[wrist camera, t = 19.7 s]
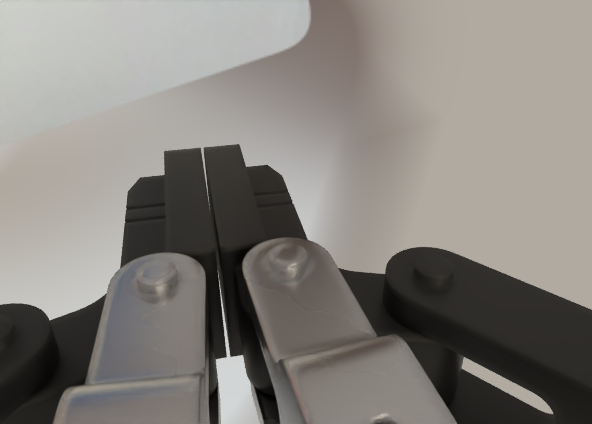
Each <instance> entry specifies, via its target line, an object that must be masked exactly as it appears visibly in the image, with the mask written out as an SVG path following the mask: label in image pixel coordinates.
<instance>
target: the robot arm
mask: <svg viewBox="0 0 592 424" xmlns="http://www.w3.org/2000/svg"><path fill="white" fill-rule="evenodd" d="M204 156H205V157H204V158H205V167H206V175H207V186H208V195H207V188H206V181H205V175H204V168H203V161H202V154H201V148H194V149H182V150H172V151H165V152H164V157H165V158H164V161H165V162H164V165H165V175H162V176H152V177H143V178H140V179H139V180H138V181H137V182H136V183H135V184H134V185H133V186H132V188H131V189H130V190H129V191H128V196H127V206H126V208H127V210H126V216H125V226H124V236H123V237H124V238H123V247H122V257H121V267H120V269H119V270H118V271H117V272H116V273H115V274H114V276H113V277H112V279H111V281H110V284H109V286H108V291H107V293H106V294H105V295H104V296H103V297H102V298H100V299H99V300H97V301H96V302H95V303H92V304H91V305H89V306H87V307H85V308H82V309H80V310H77V311H75V312H72V313H69V314H67V315H64V316H61V317H58V318H55V319H53V320H50V321H49V318H48V317H47V315H46V314H45V313H44V312H43V311H42V310H41V309H39V308H37V307H34V306H31V305H27V304H3V305H0V424H221V415H220V395H219V386H218V378H217V369H216V359H219V358H225V357H227V356H226V347H225V336H224V327H223V317H222V307H221V298H220V288H221V295H222V301H223V308H224V314H225V322H226V329H227V336H228V342H229V349H230V355H231V357H232V356H238V355H243V357H244V362H245V368H246V373H247V376H248V378H249V380H250V382H251V391H252V396H253V400H254V403H255V407H256V411H257V415H258V418H259V422H260V424H592V310H591V309H588V308H586V307H583V306H581V305H579V304H576V303H574V302H571V301H569V300H566V299H564V298H562V297H559V296H557V295H554V294H552V293H550V292H547V291H545V290H542V289H540V288H537V287H535V286H533V285H530V284H528V283H525V282H523V281H521V280H518V279H516V278H513V277H511V276H508V275H506V274H503V273H501V272H499V271H496V270H494V269H492V268H489V267H487V266H484V265H482V264H479V263H477V262H474V261H472V260H470V259H467V258H465V257H462V256H460V255H458V254H455V253H453V252H450V251H447V250H443V249H439V248H432V247H417V248H410V249H407V250H403V251H401V252H399V253H397V254H396V255H394V256H393V257H392V258H391V259H390V260H389V262H388V263H387V266H386V272H385V274H375V273H364V272H354V271H348V270H344V269H340V268H338V267H337V265H336V264H335V262H334V260H333V258H332V257H331V255H330V254H329V253H328V251H327V250H326V249H325V248H323V247H322V246H320V245H319V244H317V243H314V242H312V241H309V240H308V239H307V237H306V234H305V232H304V229H303V227H302V224H301V222H300V219H299V217H298V214H297V212H296V209H295V207H294V205H293V204H292V200H291V197H290V195H289V192H288V190H287V187H286V184H285V182H284V180H283V177H282V175H280V174H279V173H278V172H276V171H275V170H273V169H272V168H271V167H269V166H268V165H262V166H252V167H246V166H245V162H244V159H243V155H242V152H241V149H240V145H239V144H237V145H226V146H215V147H205V148H204ZM208 196H209V202H208ZM209 205H210V208H209ZM217 267H218V269H217ZM218 274H219V278H218ZM219 280H220V288H219ZM464 357H466V358H468V359H470V360H472V361H474V362H475V363H478V364H479V365H481V366H483V367H485V368H487V369H489V370H491V371H493V372H495V373H496V374H498V375H500V376H502V377H504V378H506V379H508V380H510V381H512V382H514V383H516V384H518V385H520V386H522V387H523V388H525V389H527V390H529V391H531V392H533V393H535V394H536V395H538V396H539V397H541V398H542V399H543V400H544V401H545V402H546V403H547V404H548V405H549V406H550V408H551V409H552V411H553V413H554V414H548V413H545V412H542V411H540V410H538V409H536V408H534V407H532V406H530V405H529V404H526V403H525V402H523V401H521V400H519V399H517V398H515V397H514V396H512V395H510V394H508V393H506V392H504V391H502V390H500V389H499V388H497V387H495V386H493V385H491V384H489V383H487V382H485V381H484V380H482V379H480V378H478V377H476V376H474V375H472V374H471V373H469V372H467V371H465V370H463V369H461V367H462V363H463V358H464Z"/></svg>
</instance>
